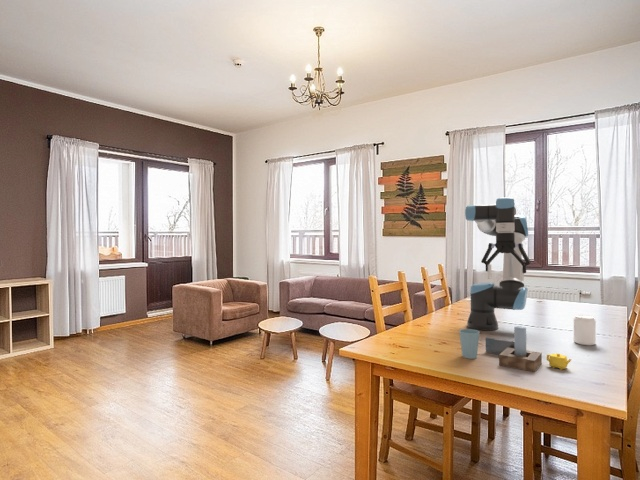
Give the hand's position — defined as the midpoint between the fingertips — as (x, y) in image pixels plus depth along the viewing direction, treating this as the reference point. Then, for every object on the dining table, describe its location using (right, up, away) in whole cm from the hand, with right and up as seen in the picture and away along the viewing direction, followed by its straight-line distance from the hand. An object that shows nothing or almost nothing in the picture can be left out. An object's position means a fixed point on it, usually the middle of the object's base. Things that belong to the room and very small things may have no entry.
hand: (505, 279), depth 176 cm
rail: (-8, -29, -16) cm, 34 cm away
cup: (-23, -30, -18) cm, 41 cm away
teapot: (+5, -30, -31) cm, 43 cm away
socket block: (-7, -29, -27) cm, 41 cm away
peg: (-7, -29, -27) cm, 41 cm away
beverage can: (+35, -29, -1) cm, 45 cm away
